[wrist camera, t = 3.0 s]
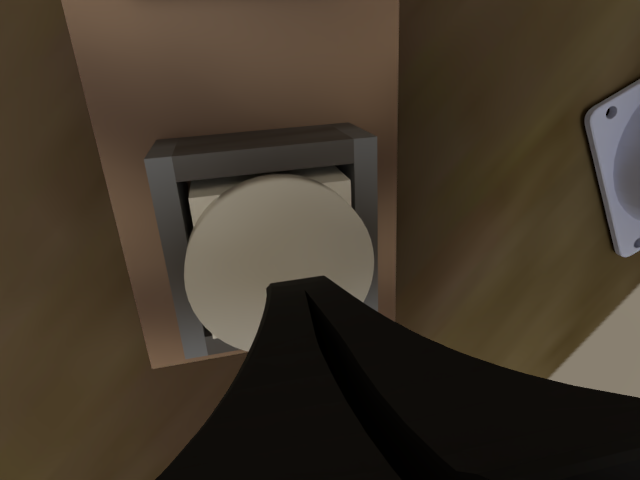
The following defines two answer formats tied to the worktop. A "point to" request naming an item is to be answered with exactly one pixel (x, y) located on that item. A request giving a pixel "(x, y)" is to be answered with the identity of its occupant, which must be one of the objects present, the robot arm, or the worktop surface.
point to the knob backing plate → (234, 126)
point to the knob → (270, 244)
